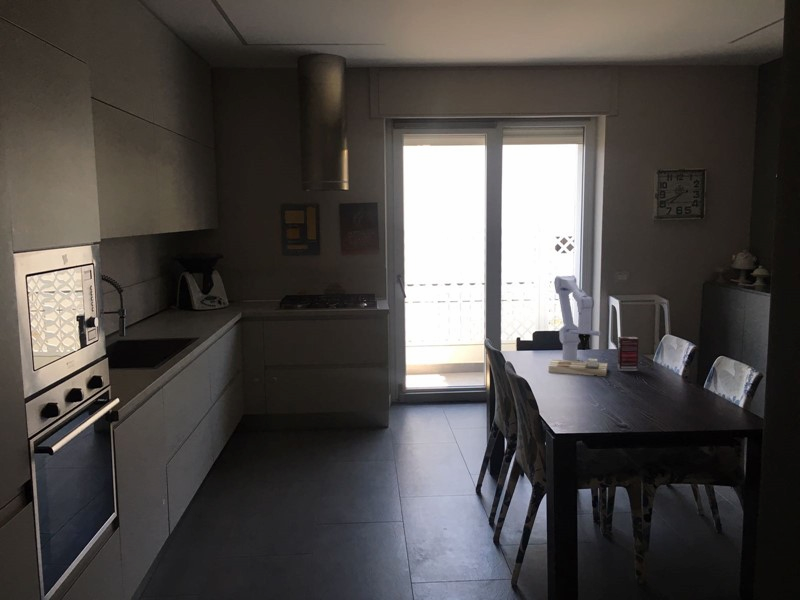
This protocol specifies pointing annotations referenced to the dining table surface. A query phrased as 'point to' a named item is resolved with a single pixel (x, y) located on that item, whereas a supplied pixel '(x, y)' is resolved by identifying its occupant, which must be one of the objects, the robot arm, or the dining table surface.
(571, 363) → the socket block
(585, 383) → the dining table surface
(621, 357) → the supplement box
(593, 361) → the plug
